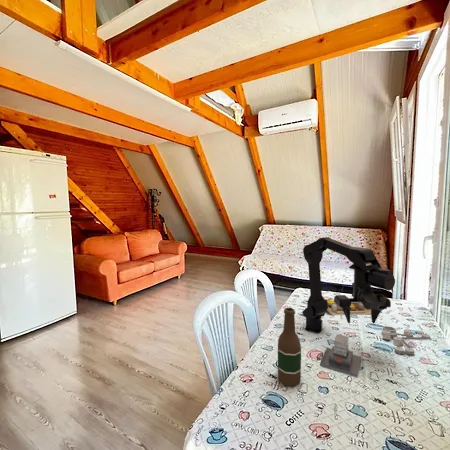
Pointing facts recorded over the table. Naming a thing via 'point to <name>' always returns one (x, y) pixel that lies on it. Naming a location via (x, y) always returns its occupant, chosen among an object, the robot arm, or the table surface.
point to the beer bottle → (289, 352)
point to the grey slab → (341, 346)
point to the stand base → (341, 362)
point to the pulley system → (391, 333)
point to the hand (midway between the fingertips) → (360, 322)
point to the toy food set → (356, 310)
